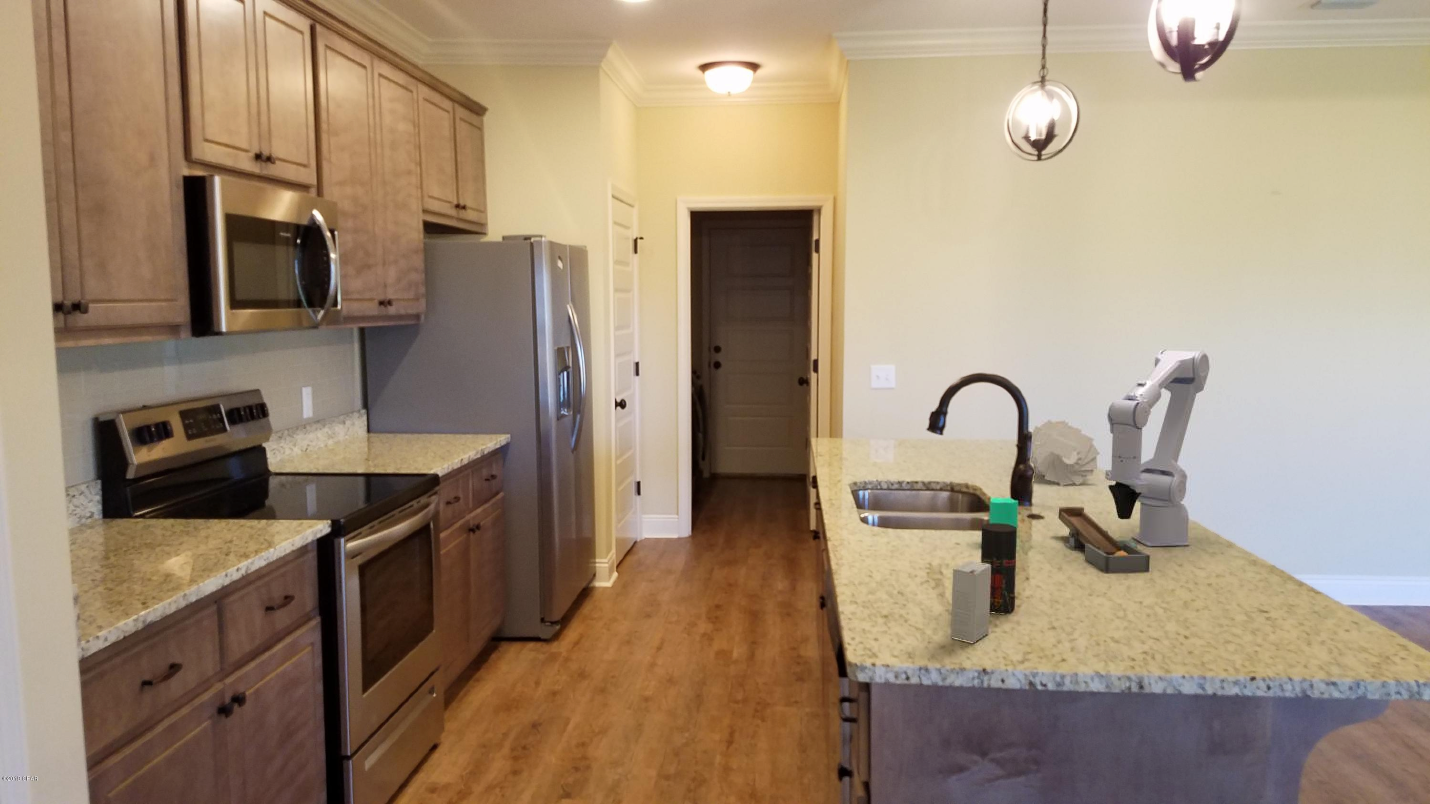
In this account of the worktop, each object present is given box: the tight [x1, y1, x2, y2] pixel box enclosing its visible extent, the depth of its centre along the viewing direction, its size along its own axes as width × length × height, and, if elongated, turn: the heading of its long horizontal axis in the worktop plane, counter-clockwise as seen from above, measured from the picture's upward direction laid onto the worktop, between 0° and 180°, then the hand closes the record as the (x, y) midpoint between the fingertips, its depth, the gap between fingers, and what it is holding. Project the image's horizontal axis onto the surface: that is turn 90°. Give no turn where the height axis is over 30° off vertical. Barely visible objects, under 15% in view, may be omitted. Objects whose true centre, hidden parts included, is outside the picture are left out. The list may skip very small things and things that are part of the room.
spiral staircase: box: [1030, 419, 1101, 487], centre depth 271 cm, size 18×18×25 cm
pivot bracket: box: [1064, 529, 1109, 552], centre depth 200 cm, size 9×4×4 cm, turn 92°
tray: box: [1084, 543, 1151, 573], centre depth 186 cm, size 9×10×3 cm
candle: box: [989, 497, 1019, 548], centre depth 202 cm, size 6×6×12 cm
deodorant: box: [980, 522, 1018, 614], centre depth 161 cm, size 6×6×15 cm
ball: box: [1114, 550, 1128, 555], centre depth 184 cm, size 3×3×3 cm
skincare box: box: [950, 560, 991, 644], centre depth 148 cm, size 6×4×12 cm
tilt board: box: [1057, 506, 1138, 555], centre depth 199 cm, size 10×20×3 cm, turn 2°
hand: (1124, 518), depth 193 cm, fingers closed
